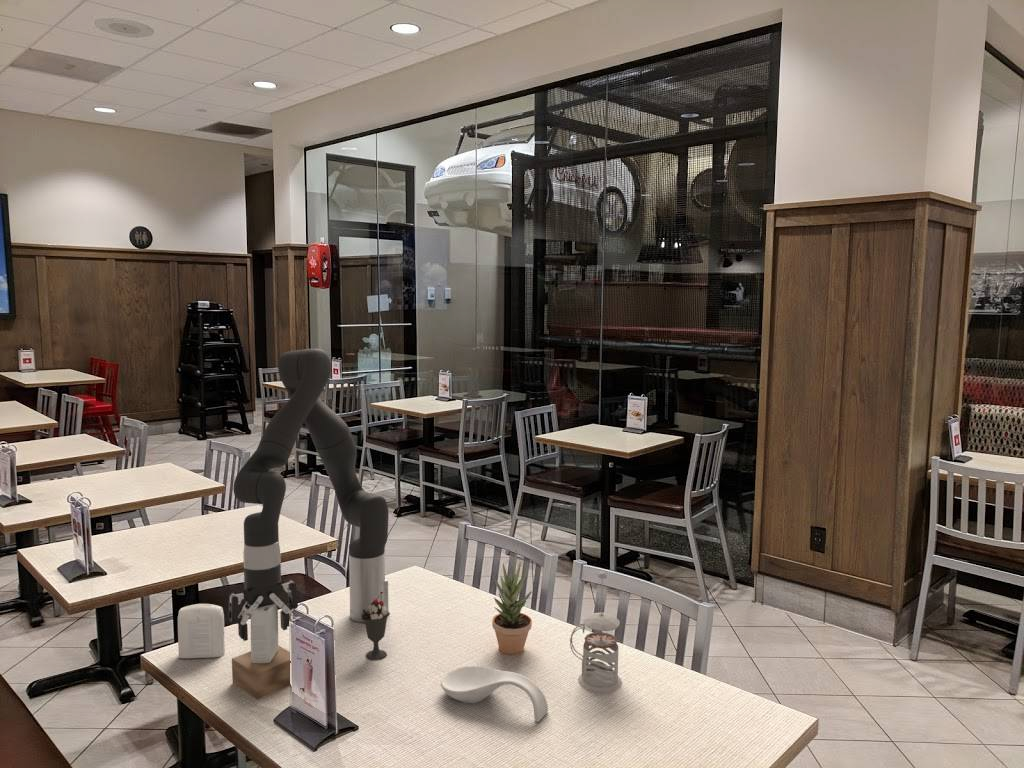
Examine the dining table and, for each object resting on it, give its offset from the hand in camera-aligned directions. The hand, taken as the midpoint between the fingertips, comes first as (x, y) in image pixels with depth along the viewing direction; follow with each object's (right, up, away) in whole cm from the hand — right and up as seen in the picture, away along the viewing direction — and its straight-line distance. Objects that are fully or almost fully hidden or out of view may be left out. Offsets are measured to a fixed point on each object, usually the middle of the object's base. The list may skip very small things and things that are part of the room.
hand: (264, 634), depth 159 cm
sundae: (+22, -10, +14) cm, 28 cm away
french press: (+72, -12, +3) cm, 73 cm away
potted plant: (+54, -10, +18) cm, 57 cm away
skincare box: (0, -6, +1) cm, 6 cm away
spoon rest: (+50, -13, -6) cm, 52 cm away
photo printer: (-19, -10, +13) cm, 25 cm away
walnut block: (0, -11, +1) cm, 11 cm away
